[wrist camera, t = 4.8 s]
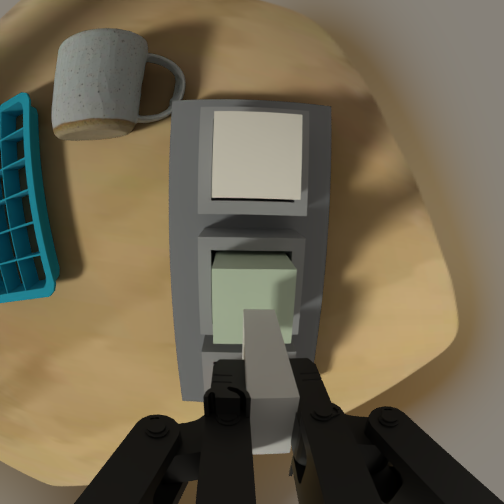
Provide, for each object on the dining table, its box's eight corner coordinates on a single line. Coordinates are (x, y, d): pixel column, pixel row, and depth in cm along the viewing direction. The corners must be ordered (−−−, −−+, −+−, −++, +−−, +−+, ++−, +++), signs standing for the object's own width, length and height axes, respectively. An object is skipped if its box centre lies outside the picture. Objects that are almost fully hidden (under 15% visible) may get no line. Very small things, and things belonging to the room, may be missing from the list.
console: (186, 382, 28) (176, 428, 21) (179, 110, 23) (159, 84, 16) (302, 382, 29) (316, 427, 22) (320, 114, 23) (349, 92, 16)
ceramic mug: (76, 147, 23) (28, 138, 15) (84, 68, 21) (44, 39, 13) (185, 135, 23) (166, 115, 16) (189, 51, 21) (175, 8, 14)
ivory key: (217, 195, 19) (211, 197, 14) (219, 128, 18) (214, 111, 13) (286, 196, 19) (300, 199, 15) (287, 130, 18) (302, 114, 14)
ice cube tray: (4, 295, 26) (-11, 304, 23) (-21, 132, 21) (-37, 131, 18) (72, 285, 26) (57, 295, 23) (45, 94, 21) (29, 87, 18)
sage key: (217, 311, 21) (213, 343, 16) (217, 250, 20) (211, 268, 15) (280, 312, 21) (290, 343, 16) (283, 251, 20) (296, 269, 15)
